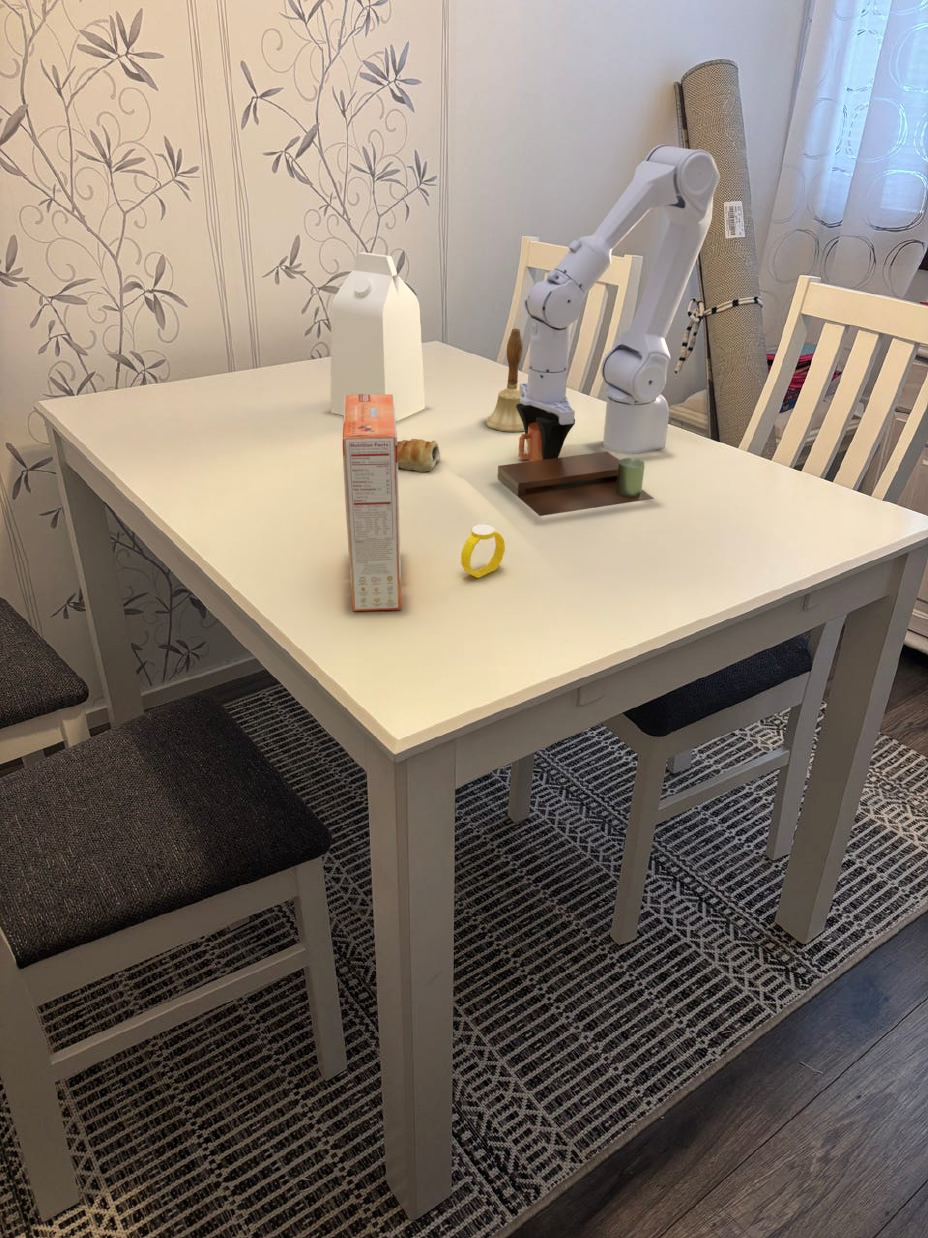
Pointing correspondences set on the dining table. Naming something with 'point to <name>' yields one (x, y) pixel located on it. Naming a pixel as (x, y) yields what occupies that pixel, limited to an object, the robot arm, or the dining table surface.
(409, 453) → the pastry
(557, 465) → the step shelf
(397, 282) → the milk
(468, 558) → the watch
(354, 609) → the cracker box
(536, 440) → the jug
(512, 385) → the hand bell
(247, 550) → the dining table surface
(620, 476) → the tin
